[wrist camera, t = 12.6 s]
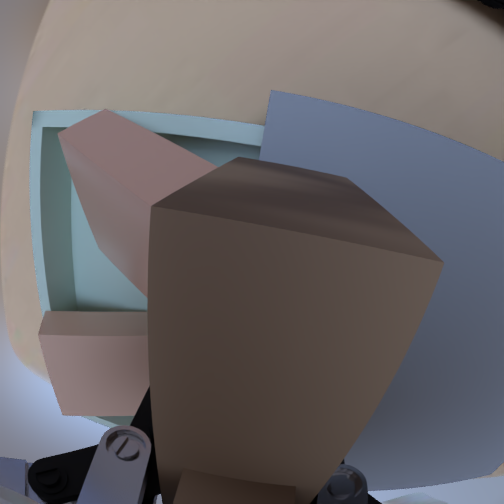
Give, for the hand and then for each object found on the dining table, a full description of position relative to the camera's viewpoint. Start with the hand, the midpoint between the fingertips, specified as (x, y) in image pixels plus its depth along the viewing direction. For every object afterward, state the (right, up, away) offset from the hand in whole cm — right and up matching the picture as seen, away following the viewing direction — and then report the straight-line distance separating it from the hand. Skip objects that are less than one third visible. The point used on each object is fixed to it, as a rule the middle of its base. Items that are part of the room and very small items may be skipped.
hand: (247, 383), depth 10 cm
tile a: (-3, +6, +1) cm, 7 cm away
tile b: (-7, -2, +4) cm, 9 cm away
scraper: (0, 0, +1) cm, 1 cm away
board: (+10, 0, +5) cm, 11 cm away
